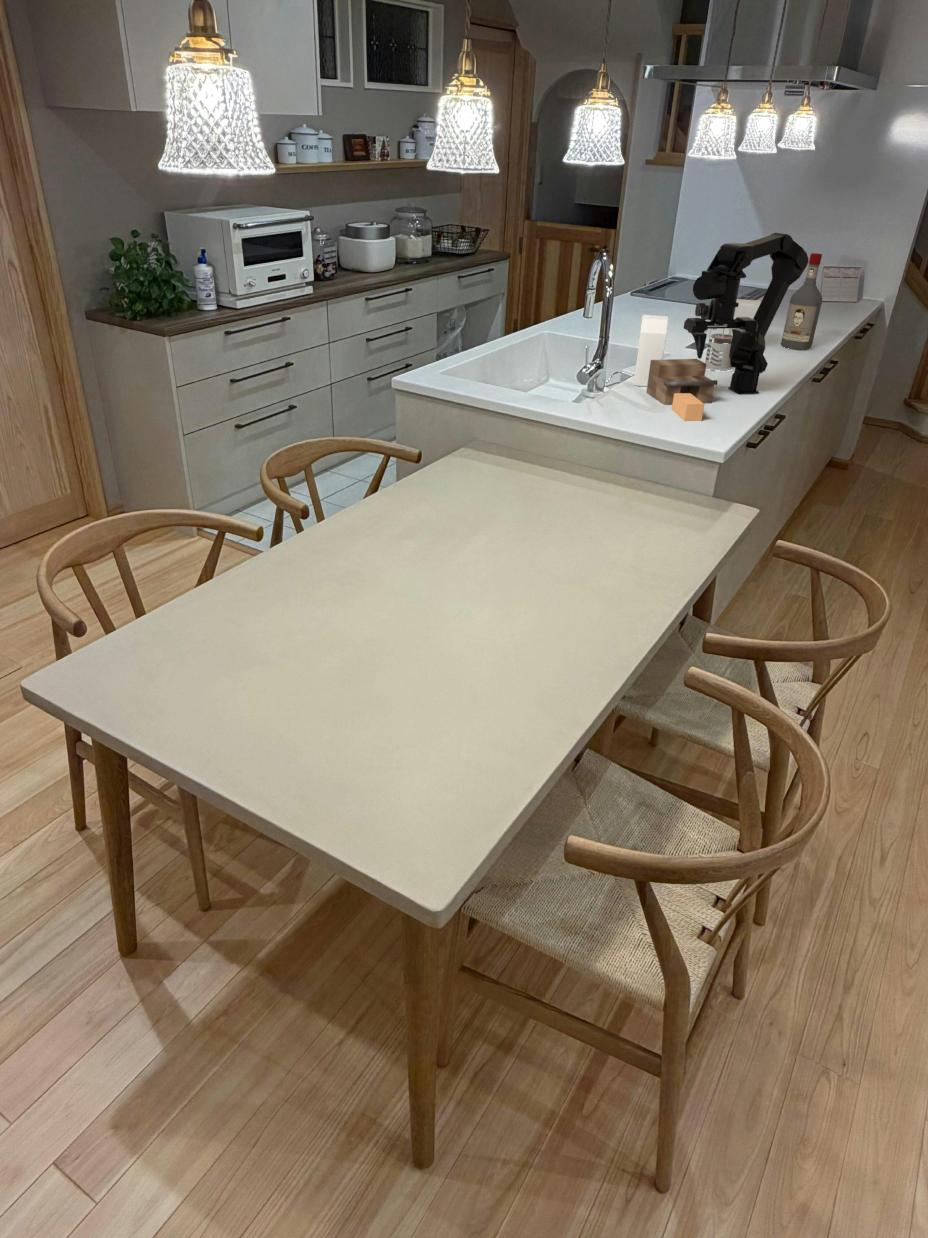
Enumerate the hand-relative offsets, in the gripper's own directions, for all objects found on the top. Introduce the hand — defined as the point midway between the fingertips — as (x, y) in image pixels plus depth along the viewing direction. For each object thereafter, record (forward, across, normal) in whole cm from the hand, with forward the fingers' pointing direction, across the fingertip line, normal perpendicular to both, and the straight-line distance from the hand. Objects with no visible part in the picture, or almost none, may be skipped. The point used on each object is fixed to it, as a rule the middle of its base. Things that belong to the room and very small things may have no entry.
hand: (715, 357), depth 227 cm
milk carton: (+11, +11, -17) cm, 23 cm away
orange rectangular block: (+11, +13, +14) cm, 22 cm away
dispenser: (+11, +8, -2) cm, 14 cm away
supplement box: (+11, -42, -59) cm, 73 cm away
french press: (+11, -19, -33) cm, 40 cm away
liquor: (+11, -62, -57) cm, 85 cm away
